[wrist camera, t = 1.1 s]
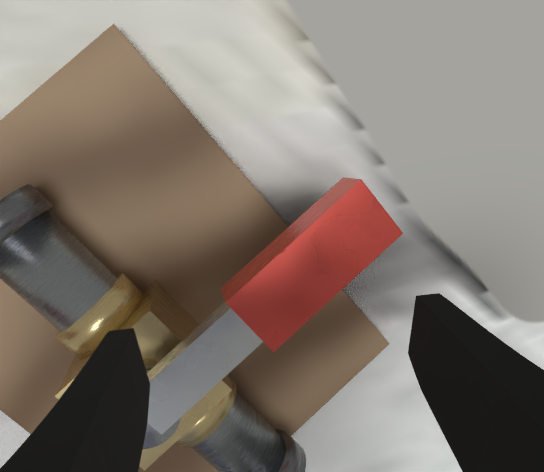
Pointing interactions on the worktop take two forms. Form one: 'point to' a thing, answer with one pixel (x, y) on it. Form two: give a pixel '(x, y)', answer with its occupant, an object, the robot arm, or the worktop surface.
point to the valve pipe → (125, 315)
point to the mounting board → (155, 235)
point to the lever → (271, 298)
